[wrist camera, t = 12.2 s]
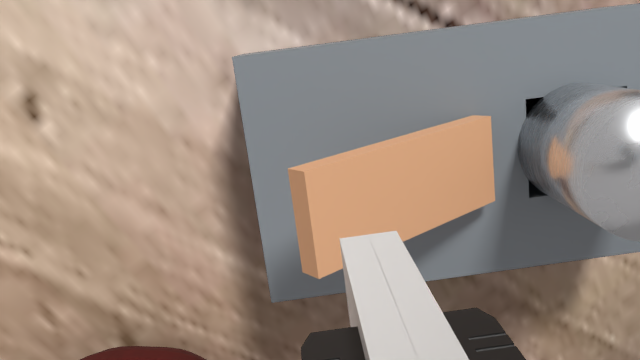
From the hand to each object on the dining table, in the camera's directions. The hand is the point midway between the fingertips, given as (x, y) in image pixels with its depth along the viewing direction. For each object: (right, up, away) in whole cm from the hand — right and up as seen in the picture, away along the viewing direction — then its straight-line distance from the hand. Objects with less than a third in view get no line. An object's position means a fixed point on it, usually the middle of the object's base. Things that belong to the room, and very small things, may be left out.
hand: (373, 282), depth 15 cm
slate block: (+5, +5, +18) cm, 19 cm away
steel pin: (+10, +6, +17) cm, 21 cm away
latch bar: (+2, +2, +9) cm, 9 cm away
